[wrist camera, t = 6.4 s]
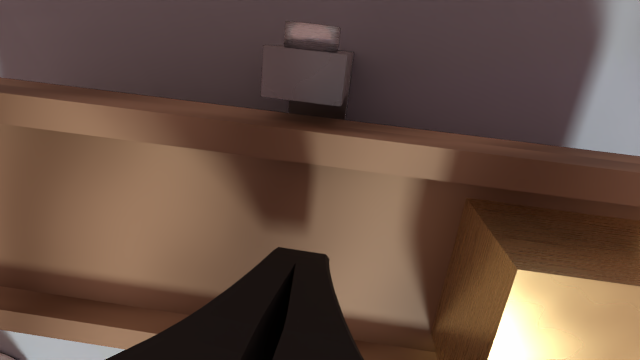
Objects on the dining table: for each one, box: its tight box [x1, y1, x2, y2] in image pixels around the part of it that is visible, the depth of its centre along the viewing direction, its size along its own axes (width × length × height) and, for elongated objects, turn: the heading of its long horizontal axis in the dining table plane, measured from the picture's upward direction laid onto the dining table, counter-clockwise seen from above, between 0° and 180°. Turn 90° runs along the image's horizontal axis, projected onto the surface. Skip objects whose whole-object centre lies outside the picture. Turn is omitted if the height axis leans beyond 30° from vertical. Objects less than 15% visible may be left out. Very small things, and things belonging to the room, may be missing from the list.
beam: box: [0, 78, 640, 360], centre depth 11 cm, size 22×8×2 cm, turn 84°
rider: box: [431, 198, 640, 360], centre depth 9 cm, size 5×5×4 cm
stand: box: [261, 21, 354, 120], centre depth 13 cm, size 2×12×5 cm, turn 174°
